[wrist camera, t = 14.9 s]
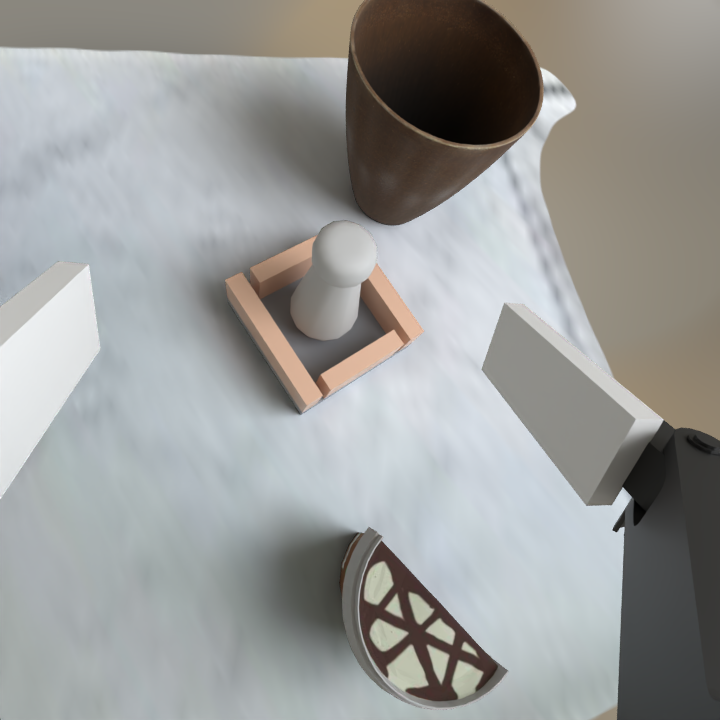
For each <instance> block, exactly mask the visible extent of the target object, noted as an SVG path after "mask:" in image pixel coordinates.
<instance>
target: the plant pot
mask: <svg viewBox="0 0 720 720" xmlns="http://www.w3.org/2000/svg"><path fill="white" fill-rule="evenodd" d="M542 102H543V79H542V74H541V70H540V67H539V64H538V61H537V59H536V57H535V55H534V53H533V51H532V49H531V47H530V45H529V44H528V42H527V41H526V39H525V38H524V36H523V35H522V34H521V33H520V31H519V30H518V29H517V28H516V27H515V26H514V25H513V24H512V22H511V21H510V20H509V19H507V18H506V17H505V16H504V15H503V14H502V13H500V12H499V11H498V10H497V9H495V8H494V7H493V6H491V5H490V4H488V3H487V2H485V1H484V0H364V2H363V3H362V4H361V5H360V7H359V8H358V10H357V12H356V14H355V16H354V19H353V22H352V26H351V34H350V45H349V58H348V71H347V87H346V138H347V153H348V163H349V170H350V176H351V182H352V187H353V192H354V196H355V199H356V202H357V203H358V205H359V207H360V208H361V209H362V211H363V212H364V213H365V214H366V215H367V216H369V217H370V218H372V219H373V220H375V221H377V222H380V223H383V224H387V225H400V224H404V223H406V222H409V221H411V220H413V219H415V218H417V217H419V216H421V215H423V214H424V213H426V212H428V211H430V210H431V209H433V208H435V207H436V206H438V205H440V204H441V203H443V202H444V201H446V200H447V199H449V198H450V197H452V196H453V195H454V194H456V193H457V192H459V191H460V190H461V189H463V188H464V187H465V186H467V185H468V184H469V183H470V182H472V181H473V180H474V179H475V178H477V177H478V176H479V175H480V174H481V173H483V172H484V171H485V170H486V169H487V168H489V167H490V166H491V165H492V164H493V163H494V162H495V161H496V160H498V159H499V158H500V157H501V156H502V155H503V154H504V153H505V152H506V151H507V150H508V149H509V148H510V147H511V146H512V145H513V144H514V143H516V142H517V141H518V140H519V139H520V138H521V137H522V136H523V135H524V134H525V133H526V132H527V131H528V130H529V129H530V128H531V127H532V125H533V124H534V123H535V121H536V119H537V117H538V115H539V113H540V110H541V107H542Z"/></svg>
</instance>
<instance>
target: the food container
mask: <svg viewBox="0 0 720 720" xmlns="http://www.w3.org/2000/svg"><path fill="white" fill-rule="evenodd" d="M382 539H383V536H381V535H379V534H378V533H377V532H376V531H374V530H373V529H371V528H370V527H369V528H368V529H367V530H366V532H365V533H360V532H358V533H357V535H356V536H355V537H354V538H353V540H352V541H351V542H350V544H349V546H348V548H347V551H346V553H345V556H344V558H343V561H342V564H341V573H340V582H339V584H340V590H341V595H342V611H343V621H344V626H345V631H346V635H347V638H348V641H349V644H350V646H351V649H352V651H353V653H354V655H355V657H356V659H357V661H358V662H359V664H360V666H361V667H362V668H363V670H364V671H365V672H366V674H367V675H368V676H369V677H370V678H371V679H372V680H373V681H374V682H375V683H376V684H377V685H378V686H379V687H380V688H381V689H383V690H385V691H386V692H388V693H389V694H391V695H393V696H394V697H396V698H398V699H400V700H401V701H403V702H406V703H408V704H411V705H413V706H416V707H419V708H424V709H430V710H447V709H454V708H459V707H464V706H467V705H469V704H471V703H474V702H476V701H478V700H480V699H481V698H483V697H484V696H486V695H487V694H489V693H490V692H491V691H492V690H493V689H494V688H495V687H497V686H498V685H499V684H500V683H501V682H502V680H503V679H504V678H505V676H506V675H507V674H508V673H509V671H508V670H506V669H505V668H504V667H502V666H501V665H500V664H499V663H497V662H496V661H495V660H493V659H492V658H491V657H490V656H489V655H488V654H487V653H486V652H485V651H484V650H483V649H482V648H481V647H480V646H479V645H478V644H477V643H476V642H475V641H474V640H473V639H472V637H471V636H470V635H469V634H468V633H467V632H466V631H465V630H464V629H463V628H462V627H461V626H460V624H459V623H458V622H457V621H456V620H455V619H454V618H453V617H452V616H451V615H450V613H449V612H448V611H447V610H446V609H445V608H444V607H443V606H442V605H441V603H440V602H439V601H438V600H437V599H436V598H435V597H434V596H433V595H432V594H431V593H430V592H429V591H428V590H427V589H426V588H425V587H424V586H423V585H422V584H421V582H420V581H419V580H418V579H417V578H416V577H415V576H414V575H413V574H412V573H411V572H410V571H409V569H408V568H407V567H406V566H405V565H404V564H403V563H402V562H401V561H400V560H399V559H398V558H397V557H396V556H395V554H394V553H393V552H392V551H391V550H390V549H389V548H388V547H387V546H386V545H385V544H384V543H383V542H382V541H381V540H382Z"/></svg>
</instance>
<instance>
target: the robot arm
mask: <svg viewBox="0 0 720 720" xmlns="http://www.w3.org/2000/svg"><path fill="white" fill-rule="evenodd" d="M99 350H100V342H99V335H98V328H97V320H96V313H95V306H94V298H93V291H92V284H91V276H90V269H89V264H83V263H72V262H62V261H58V262H57V263H55V264H54V265H53V266H52V267H50V268H49V269H48V270H47V271H45V272H44V273H43V274H42V275H40V276H39V277H38V278H36V279H35V280H34V281H33V282H31V283H30V284H29V285H28V286H26V287H25V288H24V289H22V290H21V291H20V292H19V293H17V294H16V295H15V296H14V297H12V298H11V299H10V300H9V301H7V302H6V303H5V304H3V305H2V306H1V307H0V499H1V498H2V496H3V495H4V493H5V492H6V490H7V489H8V487H9V486H10V484H11V483H12V481H13V480H14V478H15V477H16V475H17V474H18V472H19V471H20V469H21V468H22V466H23V465H24V463H25V462H26V460H27V459H28V457H29V456H30V454H31V453H32V451H33V450H34V448H35V447H36V445H37V444H38V442H39V441H40V439H41V438H42V436H43V435H44V433H45V432H46V430H47V429H48V427H49V425H50V424H51V422H52V421H53V419H54V418H55V416H56V415H57V413H58V412H59V410H60V409H61V407H62V406H63V404H64V403H65V401H66V400H67V398H68V397H69V395H70V394H71V392H72V391H73V389H74V388H75V386H76V385H77V383H78V382H79V380H80V379H81V377H82V376H83V374H84V373H85V371H86V370H87V368H88V367H89V365H90V364H91V362H92V361H93V359H94V358H95V356H96V355H97V353H98V352H99ZM482 371H483V372H484V373H485V375H486V376H487V377H488V379H489V380H490V381H491V383H492V384H493V385H494V386H495V388H496V389H497V390H498V392H499V393H500V394H501V395H502V397H503V398H504V399H505V401H506V402H507V403H508V405H509V406H510V407H511V408H512V410H513V411H514V412H515V414H516V415H517V416H518V418H519V419H520V420H521V421H522V423H523V424H524V425H525V427H526V428H527V429H528V431H529V432H530V433H531V434H532V436H533V437H534V438H535V440H536V441H537V442H538V443H539V445H540V446H541V447H542V449H543V450H544V451H545V453H546V454H547V455H548V456H549V458H550V459H551V460H552V462H553V463H554V464H555V466H556V467H557V468H558V469H559V471H560V472H561V473H562V475H563V476H564V477H565V479H566V480H567V481H568V482H569V484H570V485H571V486H572V488H573V489H574V490H575V491H576V493H577V494H578V495H579V497H580V498H581V499H582V501H583V502H584V503H585V504H586V506H592V505H612V504H613V502H614V501H615V499H616V497H617V496H618V494H619V492H620V491H621V489H622V487H624V489H625V490H626V491H627V492H628V493H629V494H630V495H631V496H632V499H631V500H630V502H629V503H628V505H627V507H626V508H625V510H624V511H623V513H622V514H621V516H620V517H619V519H618V521H617V522H616V524H615V525H614V527H613V531H615V532H617V531H618V530H619V528H621V527H625V532H624V558H623V583H622V608H621V633H620V659H619V684H618V709H617V720H720V441H719V440H717V439H716V438H714V437H712V436H710V435H708V434H705V433H703V432H700V431H697V430H693V429H690V428H679V429H676V430H675V429H674V428H673V427H672V426H670V425H669V424H668V423H667V422H665V421H664V420H663V419H662V418H661V417H660V416H658V415H657V414H656V413H655V412H654V411H652V410H651V409H650V408H649V407H648V406H646V405H645V404H644V403H643V402H641V401H640V400H639V399H638V398H637V397H635V396H634V395H633V394H632V393H631V392H629V391H628V390H627V389H626V388H624V387H623V386H622V385H621V384H620V383H618V382H617V381H616V380H615V379H614V378H612V377H611V376H610V375H609V374H608V373H606V372H605V371H604V370H603V369H601V368H600V367H599V366H598V365H597V364H595V363H594V362H593V361H592V360H591V359H589V358H588V357H587V356H586V355H585V354H583V353H582V352H581V351H580V350H578V349H577V348H576V347H575V346H574V345H572V344H571V343H570V342H569V341H568V340H566V339H565V338H564V337H563V336H561V335H560V334H559V333H558V332H557V331H555V330H554V329H553V328H552V327H551V326H549V325H548V324H547V323H546V322H545V321H543V320H542V319H541V318H540V317H538V316H537V315H536V314H535V313H534V312H532V311H531V310H530V309H529V308H528V307H526V306H525V305H524V304H514V303H504V305H503V308H502V311H501V314H500V317H499V320H498V323H497V326H496V329H495V332H494V335H493V337H492V340H491V343H490V346H489V349H488V352H487V355H486V358H485V361H484V364H483V367H482ZM0 720H1V719H0Z"/></svg>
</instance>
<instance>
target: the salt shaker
mask: <svg viewBox="0 0 720 720" xmlns="http://www.w3.org/2000/svg"><path fill="white" fill-rule="evenodd" d="M376 263H377V245H376V243H375V241H374V239H373V237H372V235H371V233H370V232H368V231H367V230H366V229H365V228H363V227H362V226H361V225H359V224H356V223H353V222H350V221H347V220H344V221H334V222H332V223H330V224H328V225H326V226H325V227H323V228H322V229H321V230H320V232H319V234H318V235H317V237H316V239H315V241H314V242H313V246H312V266H311V267H310V269H309V270H308V272H307V273H306V274H305V276H304V277H303V279H302V280H301V282H300V283H299V284H298V286H297V288H296V290H295V291H294V293H293V295H292V297H291V307H290V313H291V316H292V318H293V320H294V322H295V325H296V327H297V328H298V329H299V330H300V331H302V332H303V333H304V334H305V335H307V336H308V337H310V338H313V339H317V340H321V341H327V340H334V339H338V338H340V337H341V336H342V335H344V334H345V333H346V332H348V331H349V330H350V329H351V328H352V326H353V324H354V322H355V320H356V319H357V316H358V307H359V298H360V289H361V283H362V282H363V281H365V280H366V279H368V277H369V276H370V275H371V273H372V271H373V269H374V267H375V265H376Z"/></svg>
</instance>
